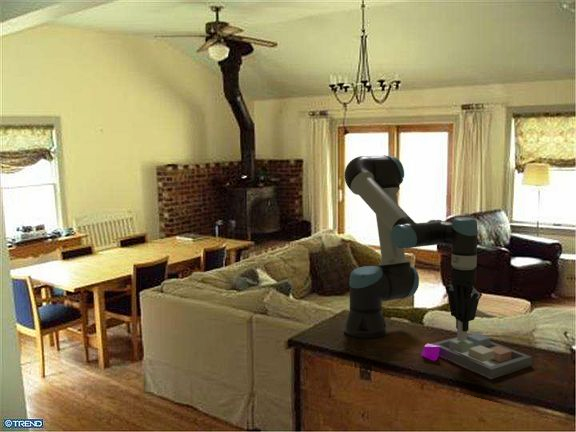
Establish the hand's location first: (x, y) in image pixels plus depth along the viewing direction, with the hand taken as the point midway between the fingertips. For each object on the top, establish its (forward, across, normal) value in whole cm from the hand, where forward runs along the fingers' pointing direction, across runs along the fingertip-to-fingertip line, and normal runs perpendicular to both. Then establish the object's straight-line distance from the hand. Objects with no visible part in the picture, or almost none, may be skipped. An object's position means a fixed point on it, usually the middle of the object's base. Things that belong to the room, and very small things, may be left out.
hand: (461, 339), depth 172 cm
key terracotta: (+5, +8, +8) cm, 12 cm away
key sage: (+3, 0, 0) cm, 3 cm away
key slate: (+3, 0, +8) cm, 9 cm away
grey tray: (+6, +4, +4) cm, 8 cm away
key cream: (+3, +8, 0) cm, 8 cm away
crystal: (+6, -5, -8) cm, 12 cm away
